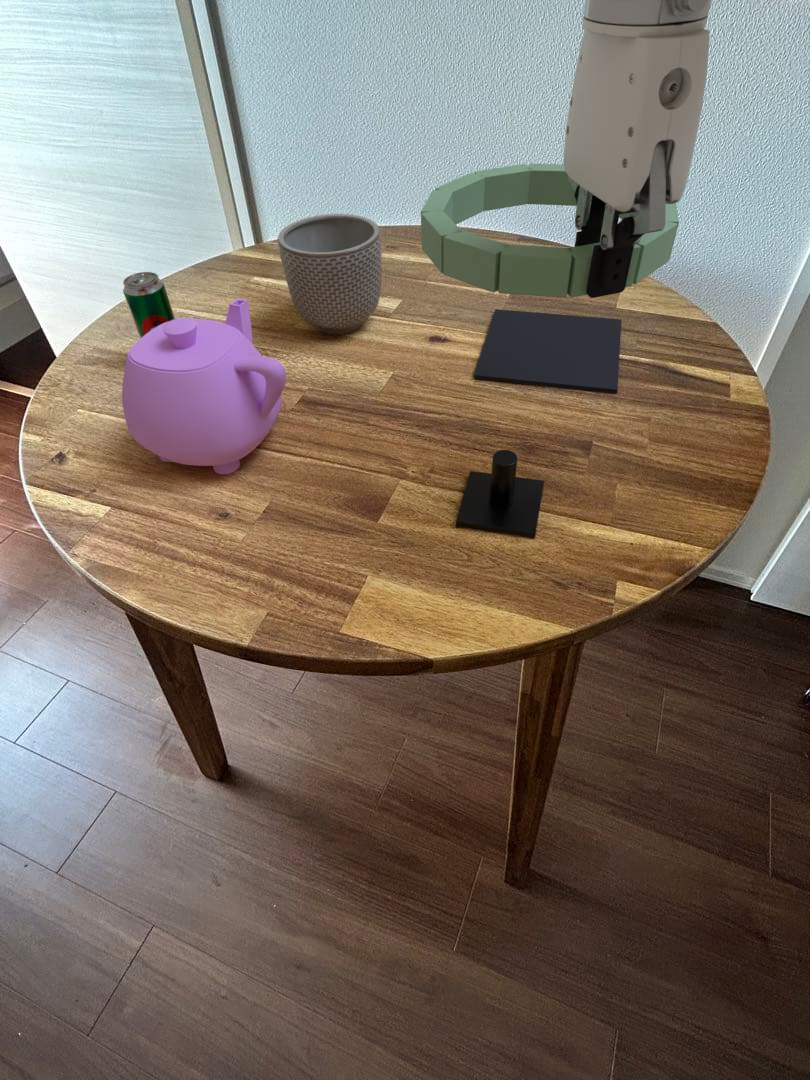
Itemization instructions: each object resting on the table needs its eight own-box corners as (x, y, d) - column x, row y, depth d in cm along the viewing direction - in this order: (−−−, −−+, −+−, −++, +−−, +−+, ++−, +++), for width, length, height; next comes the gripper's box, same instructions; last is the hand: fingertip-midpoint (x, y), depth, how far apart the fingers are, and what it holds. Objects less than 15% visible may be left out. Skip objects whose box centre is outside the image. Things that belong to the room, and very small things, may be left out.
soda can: (195, 359, 90) (169, 275, 82) (169, 377, 88) (139, 291, 79) (170, 350, 92) (142, 267, 84) (143, 367, 89) (111, 283, 81)
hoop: (663, 202, 65) (671, 166, 63) (673, 305, 51) (684, 264, 48) (448, 194, 69) (448, 161, 67) (400, 287, 55) (398, 249, 52)
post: (543, 485, 69) (550, 437, 65) (534, 538, 64) (542, 490, 59) (469, 476, 71) (471, 427, 66) (455, 526, 66) (456, 478, 61)
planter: (386, 345, 91) (380, 251, 82) (288, 349, 91) (270, 257, 82) (387, 298, 100) (381, 210, 91) (297, 303, 101) (283, 215, 91)
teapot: (343, 401, 82) (328, 285, 71) (268, 504, 69) (236, 383, 58) (209, 377, 87) (176, 266, 76) (117, 469, 74) (61, 352, 63)
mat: (620, 323, 92) (621, 319, 92) (616, 393, 81) (617, 389, 80) (495, 312, 96) (495, 308, 96) (473, 378, 84) (473, 374, 84)
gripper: (788, 8, 35) (693, 323, 49) (634, -23, 46) (591, 242, 59) (665, 22, 34) (602, 341, 47) (537, -13, 45) (515, 256, 58)
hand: (596, 284), depth 53 cm, fingers closed on hoop, 2 cm apart
